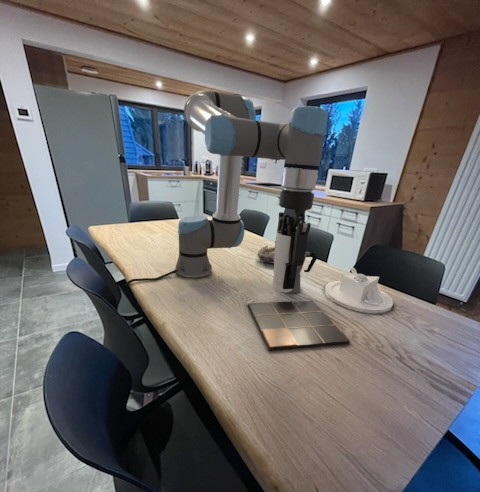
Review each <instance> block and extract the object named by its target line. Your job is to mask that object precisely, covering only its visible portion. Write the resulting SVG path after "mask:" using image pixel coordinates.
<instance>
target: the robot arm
mask: <svg viewBox="0 0 480 492" xmlns="http://www.w3.org/2000/svg"><path fill="white" fill-rule="evenodd" d="M183 115H184V119H185V121H186V123H187V124H188V126H189V127H191V128H192V129H193V130H194V131H196V132H198V133H199V132H200V133H202V134H203V135H204V143H205V147H206V150H207V151H208V153H209V154H212V155H218V164H217V165H218V166H217V167H218V168H217V186H216V187H217V189H216V210H215V211H214V212H213V213H212V215H211V218H212V219H208V217H207V216H205V215H190V216H186V217H183V218H181V219H180V220H179V222H178V224H177V225H178V226H177V228H178V229H177V234H178V254H179V255H178V258H177V261H176V263H175V268H174V270H172V271H169V272H167V273H164V274H163V275H160V276H158V277H152V278H151V277H144V278H132V279H130V280H128V281H127V282H126V283H125V285H124V286H126V287H127V286H129V285H130V284H131V283H133V282H144V281H145V282H149V281H150V282H153V281H158V280H161V279H163V278H166V277H169V276H170V275H173V274H176V275H177V276H178V277H180V278H183V279H190V280H197V279H203V278H206V277H209V276H210V275H211V274H212V265H211V263H210V259H209V257H208V250H209V249H231V248H237V247H239V246H240V245H241V244H242V242H243V240H244V237H245V224H244V221H243V220H241V216H240V214H239V213H238V208H239V196H240V185H241V175H242V164H243V163H242V162H243V157H244V158H256V159H267V160H271V161H284V163H283V170H282V176H281V182H280V183H281V184H280V185H281V186H280V187H282V189H281V190H280V194H279V195H280V196H279V202H278V206H279V207H280V208H283V209H284V210H283V211H279V212H278V223H277V229H276V233H277V232H278V231H281V230H282V235H285V236H290V237H291V240H290V247H289V259H288V263H285V264H286V269H285V276H284V283H283V289H294V285H295V279H296V273H297V267H298V266H303V267H304V264H305V261H304V258H305V252H307V251H306V250H307V244H308V237H309V232H310V229H311V227H312V226H311V222H307V221H306V211H310V210H311V209H313V204H314V198H315V193H314V192H313V190H315V189H316V186H317V181H318V179H319V169H320V164H321V159H322V154H323V149H324V143H325V138H326V135H327V125H328V117H329V115H328V111H327V110H326V109H325V108H323V107H319V106H312V105H301V106H300V105H299V106H295V107H294V108H293V109H292V110H291V112H290V116H289V119H288V122H285V123H280V122H272V121H266V120H265V121H264V120H257V116H256V115H257V114H256V108H255V105H254V103H253V101H252V100H251V98H249V97H248V96H244V95H240V94H235V93H227V92H221V91H213V90H205V89H204V90H199V91H196V92H193V93H192V94H190V95H189V96H188V97H187V99H186V100H185V102H184V106H183ZM294 232H296V233H294ZM275 235H276V236H277V234H275ZM276 236H275V237H276ZM275 242H276V240H275V241H274V243H275ZM305 259H306V258H305Z"/></svg>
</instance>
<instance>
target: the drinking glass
mask: <svg viewBox="0 0 480 492" xmlns="http://www.w3.org/2000/svg"><path fill="white" fill-rule="evenodd" d="M294 233H296V232H294ZM276 235H277V236H275V241H276V242H275V241H274V248H275V256H274V263H273V280H272V288H273V289H274V290H275V291H276V292H279V293H286V292H290V291H292V289H283V283H284V276H285V269H286V264H285V263H288V259H289V247H290V240H291V237H290V236H285V235H282V230H281V231H278V232H277V231H276ZM297 269H298V267H297Z"/></svg>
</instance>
